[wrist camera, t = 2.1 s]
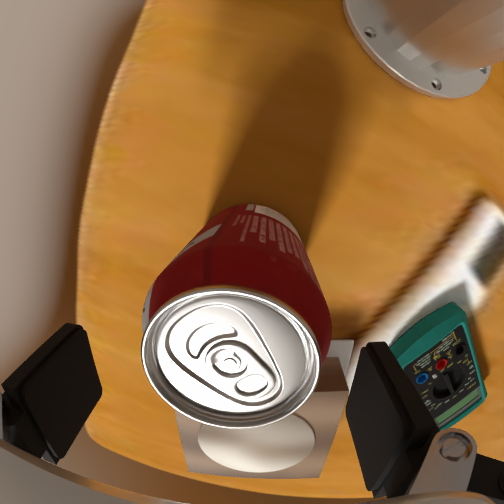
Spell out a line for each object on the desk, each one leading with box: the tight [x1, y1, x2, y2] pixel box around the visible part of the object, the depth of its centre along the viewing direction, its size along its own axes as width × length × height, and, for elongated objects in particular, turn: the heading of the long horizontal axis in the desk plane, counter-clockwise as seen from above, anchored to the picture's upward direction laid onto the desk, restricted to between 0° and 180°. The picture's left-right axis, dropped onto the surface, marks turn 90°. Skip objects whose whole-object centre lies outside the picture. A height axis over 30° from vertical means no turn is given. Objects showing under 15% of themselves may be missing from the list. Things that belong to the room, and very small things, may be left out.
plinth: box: [174, 357, 349, 479], centre depth 22 cm, size 12×12×4 cm
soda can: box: [141, 204, 332, 429], centre depth 14 cm, size 7×7×12 cm
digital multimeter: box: [390, 302, 487, 431], centre depth 21 cm, size 7×15×3 cm, turn 38°
